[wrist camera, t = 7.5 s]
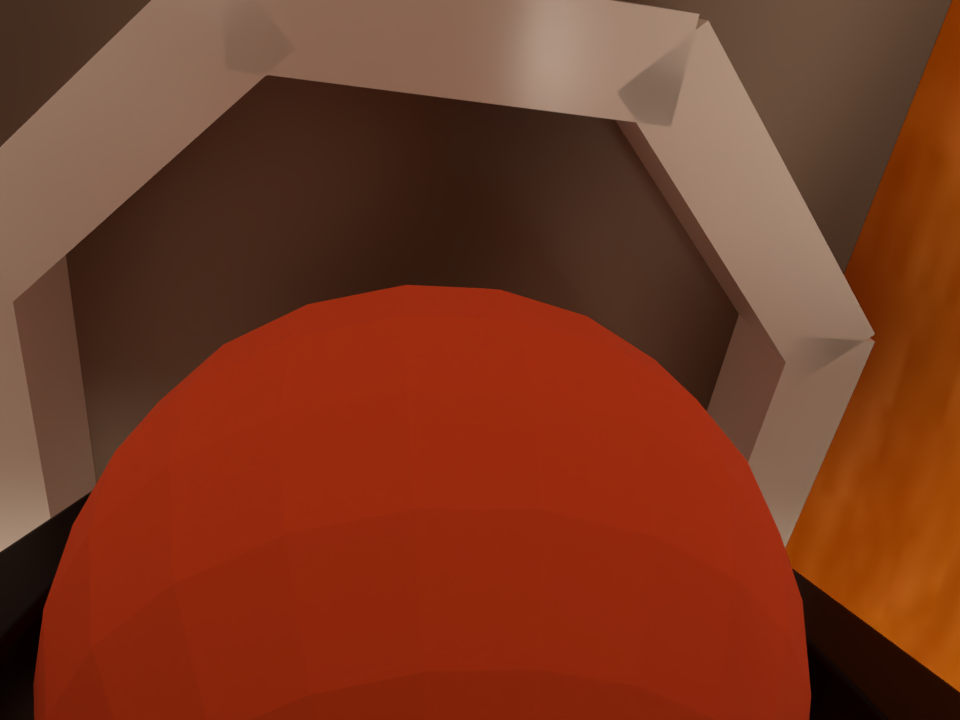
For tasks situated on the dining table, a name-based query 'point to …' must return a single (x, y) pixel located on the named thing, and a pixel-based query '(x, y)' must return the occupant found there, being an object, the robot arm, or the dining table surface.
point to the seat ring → (448, 74)
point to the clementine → (425, 534)
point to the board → (448, 195)
